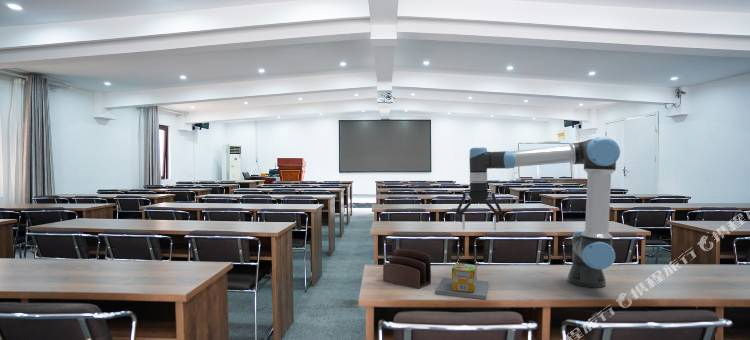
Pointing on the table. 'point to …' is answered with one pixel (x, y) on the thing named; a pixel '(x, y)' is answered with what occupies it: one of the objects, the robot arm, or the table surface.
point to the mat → (446, 289)
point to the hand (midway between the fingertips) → (479, 229)
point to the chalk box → (464, 277)
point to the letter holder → (408, 268)
